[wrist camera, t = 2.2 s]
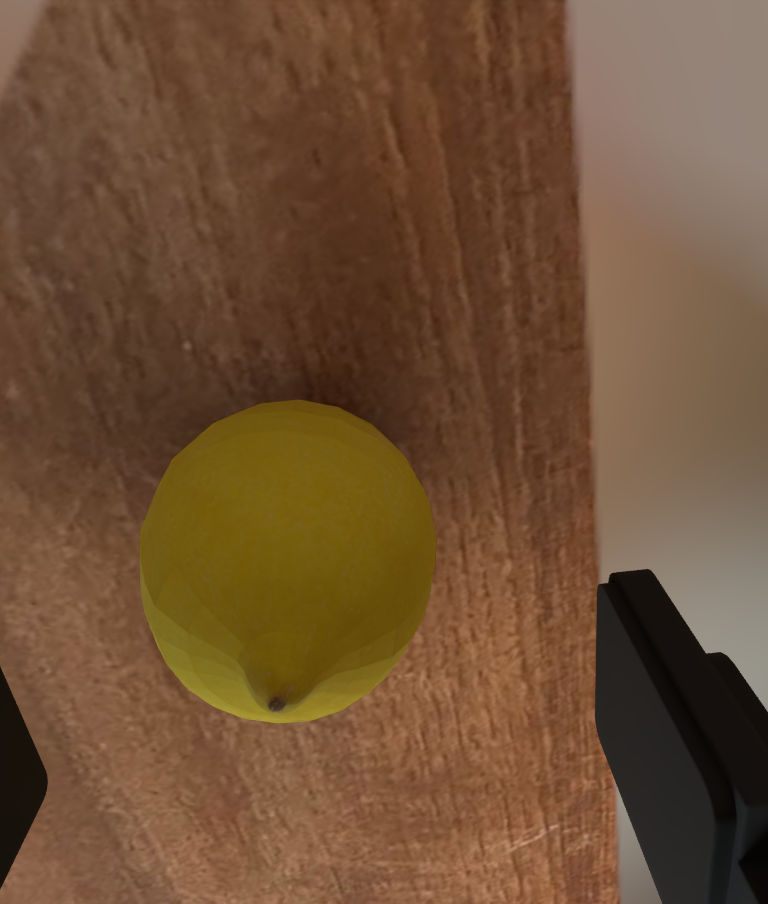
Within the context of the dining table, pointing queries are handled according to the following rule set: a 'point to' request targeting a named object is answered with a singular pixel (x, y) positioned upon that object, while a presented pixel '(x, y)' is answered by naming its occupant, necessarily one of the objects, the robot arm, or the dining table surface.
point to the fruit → (286, 561)
